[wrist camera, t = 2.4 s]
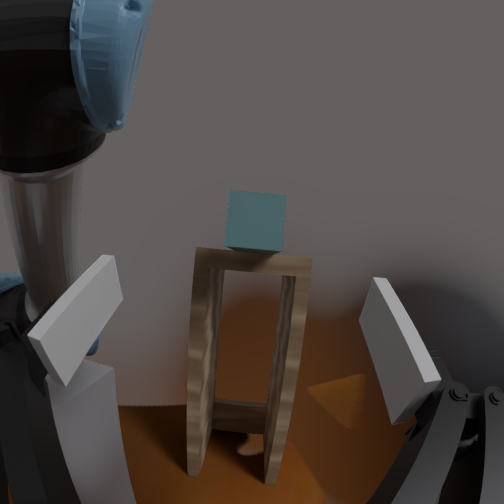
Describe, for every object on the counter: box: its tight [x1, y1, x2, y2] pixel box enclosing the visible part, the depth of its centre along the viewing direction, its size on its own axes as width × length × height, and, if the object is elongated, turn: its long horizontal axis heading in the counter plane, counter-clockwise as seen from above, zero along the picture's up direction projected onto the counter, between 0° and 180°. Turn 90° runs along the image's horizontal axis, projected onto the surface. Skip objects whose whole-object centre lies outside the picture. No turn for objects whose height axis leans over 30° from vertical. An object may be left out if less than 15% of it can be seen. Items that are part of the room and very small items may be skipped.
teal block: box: [225, 190, 286, 254], centre depth 32 cm, size 24×4×4 cm, turn 179°
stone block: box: [7, 358, 136, 504], centre depth 14 cm, size 10×9×20 cm
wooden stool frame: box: [187, 247, 312, 485], centre depth 35 cm, size 15×12×31 cm
